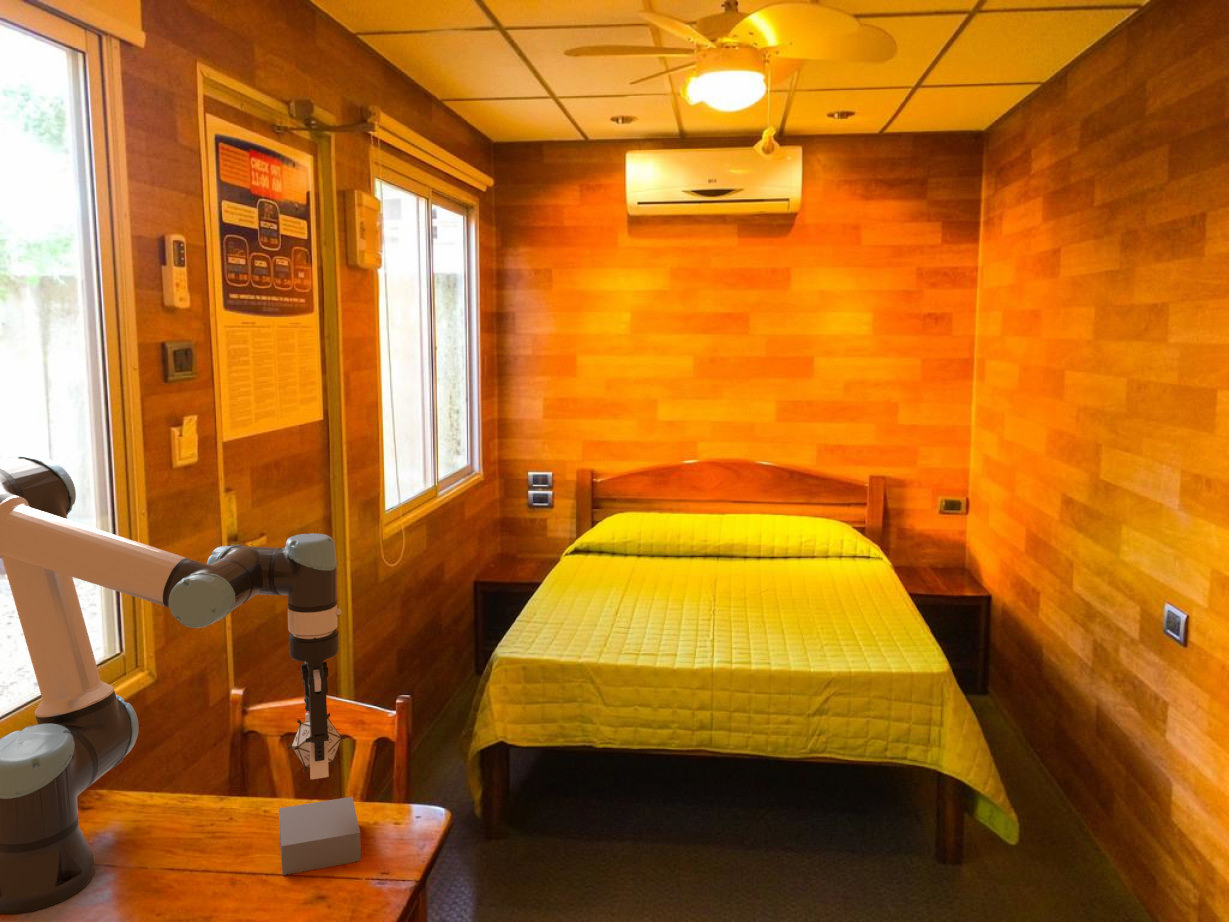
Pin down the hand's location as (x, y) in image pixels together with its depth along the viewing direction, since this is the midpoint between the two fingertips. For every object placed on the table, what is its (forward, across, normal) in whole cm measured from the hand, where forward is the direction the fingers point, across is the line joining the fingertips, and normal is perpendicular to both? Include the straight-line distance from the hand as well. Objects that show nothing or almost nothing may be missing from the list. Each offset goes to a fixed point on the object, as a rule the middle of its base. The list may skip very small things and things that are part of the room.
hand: (317, 762), depth 152 cm
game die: (+1, 0, 0) cm, 1 cm away
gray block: (+15, 0, 0) cm, 15 cm away
